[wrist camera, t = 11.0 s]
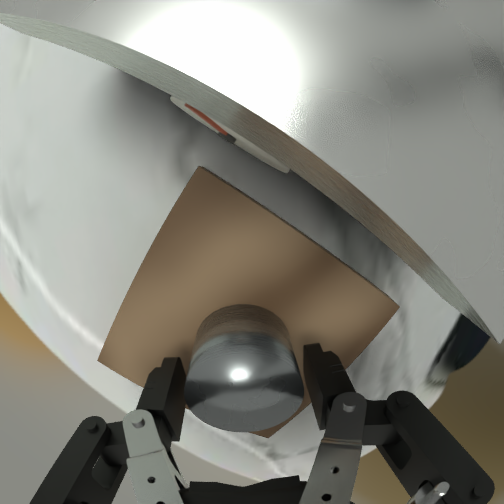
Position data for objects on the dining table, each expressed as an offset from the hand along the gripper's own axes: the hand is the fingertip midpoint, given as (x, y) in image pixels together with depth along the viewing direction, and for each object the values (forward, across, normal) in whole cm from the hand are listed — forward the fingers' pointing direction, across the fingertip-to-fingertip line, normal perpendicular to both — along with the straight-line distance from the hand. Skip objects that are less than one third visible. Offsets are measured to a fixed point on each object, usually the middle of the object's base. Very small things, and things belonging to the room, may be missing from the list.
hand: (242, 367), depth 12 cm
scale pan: (-3, -6, -17) cm, 18 cm away
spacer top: (+2, 0, 0) cm, 2 cm away
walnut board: (+3, 0, 0) cm, 3 cm away
